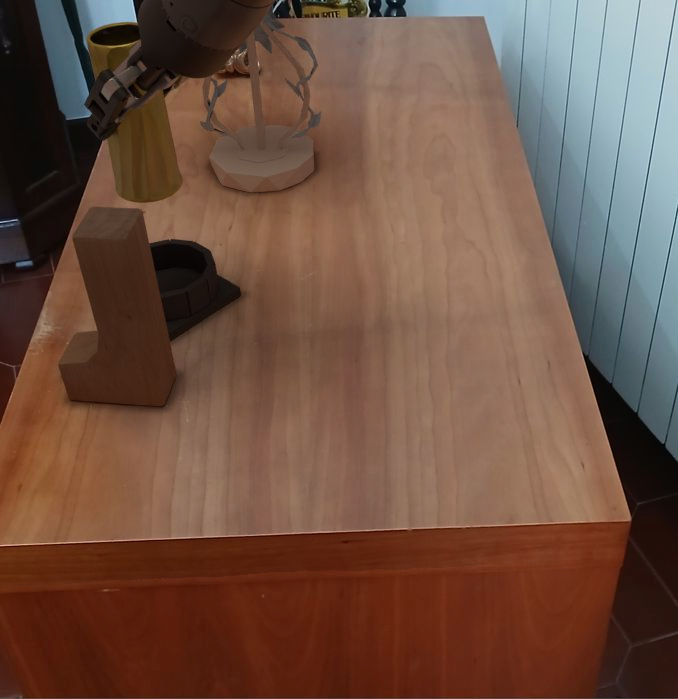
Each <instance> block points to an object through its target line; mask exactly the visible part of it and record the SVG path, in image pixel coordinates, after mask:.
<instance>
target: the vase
mask: <svg viewBox="0 0 678 699" xmlns="http://www.w3.org/2000/svg"><path fill="white" fill-rule="evenodd" d="M139 40H140V33H139V28H138V22H135V21H120V22H114V23H108V24H104V25H101V26H98V27H97V28H95V29H93V30H91V31H89V33H88V34H87V36H86V45H87V46H86V47H87V51H88V54H89V60H90V64H91V68H92V72H93V77H94V82H95V81H96V79H97V77H98V76H99V75H100V74H99V73H100V72H101V71H103V70H106V69H108V68H109V69H110V70H111V71H112V72H114V71H115V70H116V69H117V68H118V67H119V66H120V65H121V64H122V62H123V61H124V60H125V59H126V58H127V57H128V56H129V52H130V49H131V48H132V47H133V46H134V45H135V44H136V43H137V42H138V41H139ZM132 84H133V85H134V86H135V87H136V88H137V90H138V91H139V92H140V93H141V94H142V95H144V94H145V93H146V92H147V91H143V90H141V89H140V88H139V87H138V86H137V84H136V83H135V82H134V83H132ZM166 103H167V102H166V97H165V98H164V93H163V90H162V91H161V92H160V93H159V94H158V95H157V96H156V97H155V98H154V99H153V100H152V101H151V102H150V103H149V104H148V105H147V106H145V107H143V108H140V109H137V110H136V109H134V110H133V111H132V112H131V113H130V114H129V115H128V116H127V117H126V119H125V120H124V121H123V122H121V124H120V125H119V126H118V127H117V129H116V130H115V131H114V133H113V134H112V135H111V136H110V137H109V138H108V139H106V140H107V146H108V151H109V157H110V162H111V167H112V172H113V176H114V185H115V192H116V193H117V195H118V196H119V197H120V198H122V199H123V200H125V201H128V202H131V203H136V204H137V203H138V204H145V203H155V202H159V201H163V200H166V199H169V198H170V197H172V196H174V195H175V194H176V193H177V192H178V191H179V190H181V188H182V186H183V183H184V178H183V175H182V173H181V170H180V167H179V163H178V157H177V152H176V146H175V142H174V137H173V133H172V128H171V124H170V123H171V122H170V118H169V114H168V109H167V104H166ZM126 104H127V102H126V103H125V105H126ZM125 105H124V106H125Z"/></svg>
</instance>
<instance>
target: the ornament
mask: <svg viewBox="0 0 678 699" xmlns="http://www.w3.org/2000/svg"><path fill="white" fill-rule="evenodd" d="M257 63H258V72H259V73H260V71H261V68H262V66H261V62H260V60H259V57H258V56H257ZM235 71H236V72H238V73H239V74H241V75H250V70H249V61H248V52H247V49H246V50H245V51H243V52H242V53H241V54H240V51H239V48H238V50H237V51H236V52H235V53H234V54H233V55H232V56H231V58H230V59H229V60H228V61H227V62H226V63H225V65H224V66H223V67H222V68H221V69H220V70H219V71H218V72H217V73H216V74H225V73H227V72H228V73H233V72H235Z"/></svg>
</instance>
